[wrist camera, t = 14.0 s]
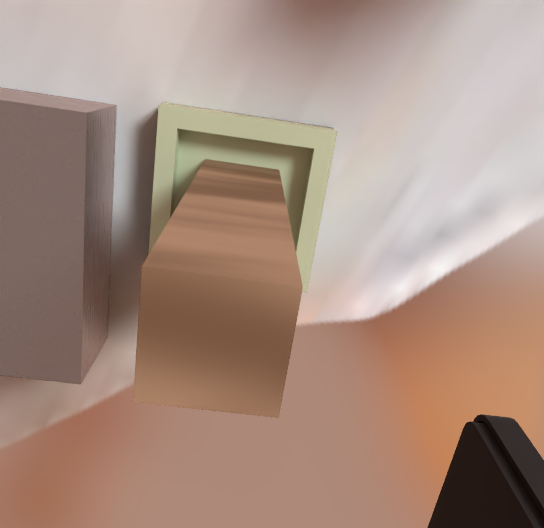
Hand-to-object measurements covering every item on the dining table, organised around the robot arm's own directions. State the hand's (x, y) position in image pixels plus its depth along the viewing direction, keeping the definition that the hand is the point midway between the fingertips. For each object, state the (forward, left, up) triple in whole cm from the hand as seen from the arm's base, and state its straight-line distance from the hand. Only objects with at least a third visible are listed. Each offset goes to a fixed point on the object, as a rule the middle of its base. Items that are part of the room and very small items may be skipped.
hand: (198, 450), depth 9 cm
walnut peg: (+1, 0, -21) cm, 21 cm away
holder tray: (+1, 0, -21) cm, 21 cm away
